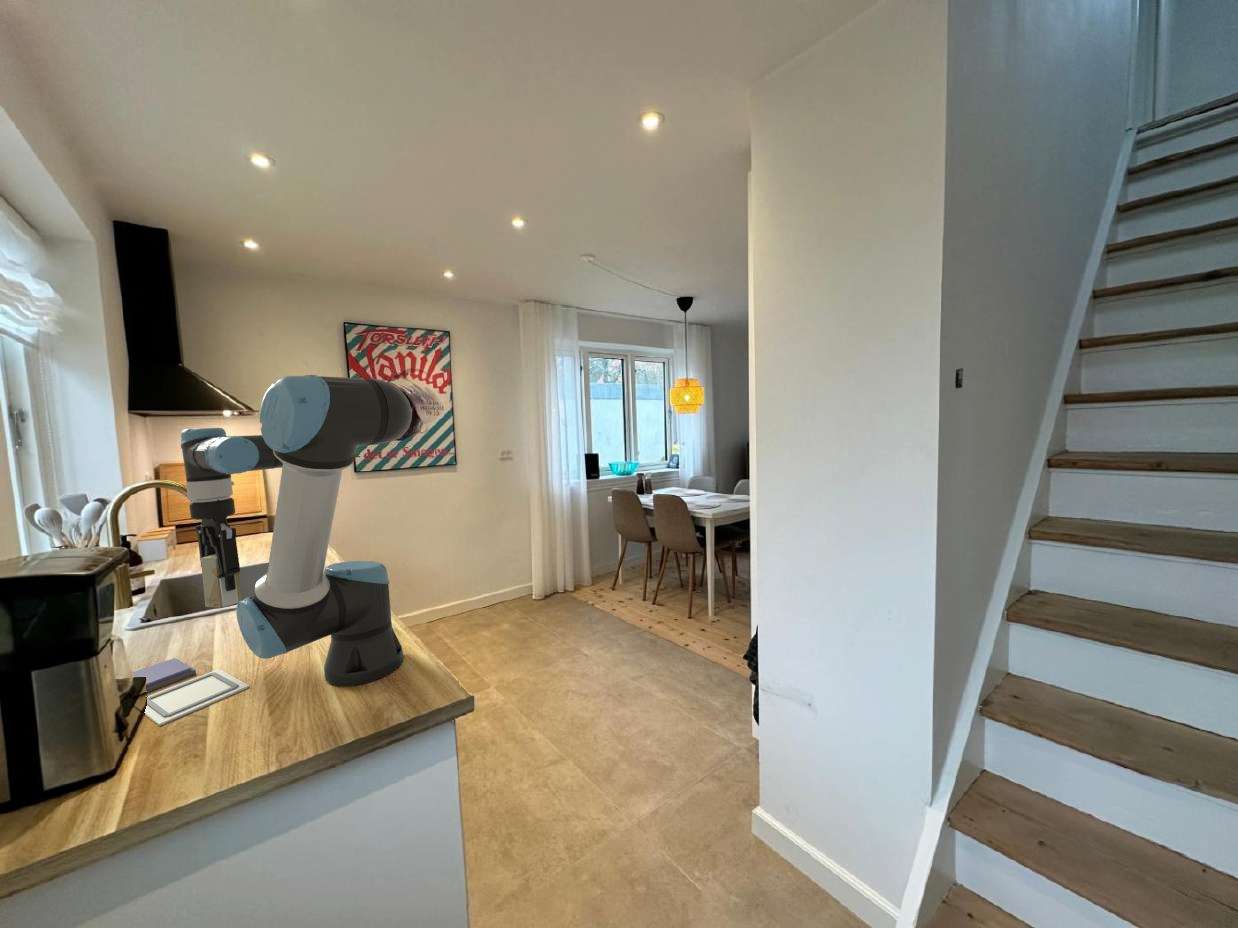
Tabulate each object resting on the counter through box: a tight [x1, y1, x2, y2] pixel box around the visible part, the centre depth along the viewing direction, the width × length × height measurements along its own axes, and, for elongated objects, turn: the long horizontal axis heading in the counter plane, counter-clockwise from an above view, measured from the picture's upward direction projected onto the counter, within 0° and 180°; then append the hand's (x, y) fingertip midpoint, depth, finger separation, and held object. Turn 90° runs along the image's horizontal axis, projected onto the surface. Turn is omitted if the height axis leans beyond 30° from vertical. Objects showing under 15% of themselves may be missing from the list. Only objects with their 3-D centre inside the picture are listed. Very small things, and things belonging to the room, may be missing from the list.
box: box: [200, 554, 243, 609], centre depth 108 cm, size 5×4×11 cm
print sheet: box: [144, 668, 250, 727], centre depth 97 cm, size 14×14×1 cm
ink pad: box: [131, 657, 197, 693], centre depth 104 cm, size 10×10×2 cm
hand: (224, 601), depth 109 cm, fingers closed on box, 5 cm apart
